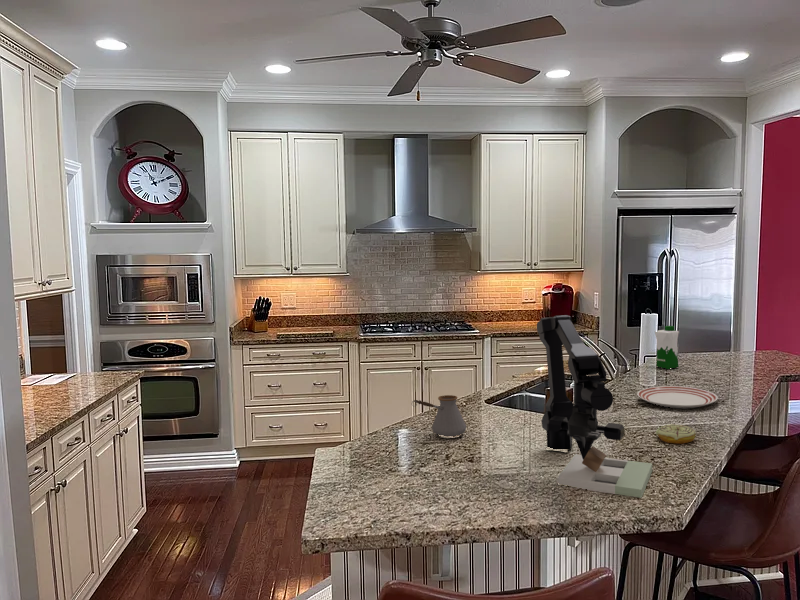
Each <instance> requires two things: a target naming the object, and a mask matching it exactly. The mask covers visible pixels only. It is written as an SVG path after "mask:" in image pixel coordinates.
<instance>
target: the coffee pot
mask: <svg viewBox="0 0 800 600" xmlns="http://www.w3.org/2000/svg"><path fill="white" fill-rule="evenodd" d="M437 399H438V400H439V403H440V404H439V405H435V404H432V403H429V402H427V401H421V400H420V399H419V400H417V399H414V400H413V401H412V402H411V406H412V407H414V405H413V403H414V402H415V403H416V404H415V406H418V405H422V406H425V407H429V408H434V409H437V412H436V413H435V414H436V415H435V417H434V420H433V423H432V425H431V430H432V432H433V433H434V434H435V433H436V434H439V435H444V436H456V435H460V434H462V435H463V434H464V433H465V432H466V429H467V424H466V421H465V420H464V417H463V416H462V414H461V413H462V412H461V411H460V410H459V407H458V405H457V400H458V396H457V395H453V394H451V395H450V394H447V395H440V396H438V397H437ZM436 434H435V435H436Z"/></svg>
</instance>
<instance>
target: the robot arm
mask: <svg viewBox="0 0 800 600" xmlns="http://www.w3.org/2000/svg"><path fill="white" fill-rule="evenodd" d="M536 331H537V333H538V337H539V340H540V342H541V343H542V344H543V346H544V347H545V351H546V352H545V354H546V363H547V375H548V376H547V377H548V384H549V385H548V387H549V395H550V396H549V397H548V400H547V402H546V403H545V411H544V414H543V416H542V419H541V427H542V429H543V430H545V431H546V448H547V447H550V448H553V449H570V450H571V449H572V448H573V440H574V441H575V442H576V445H577V448H578V449H579V453H580V455H582V458H583V460H584V458H585V456H586V455H587V453H588V451H589V450H590V449H591V448H592V446H593V444H594V443H595V441H597V440H598V439H599V438H600V437H601V435H602V434H603V436H604V437H605V438H606V439H607V440H613V441H621V440H622V438H624V436H625V432H626V431H625V426H624V425H623V424H622V423H621V424H620V423H616V422H615V423H614V422H608V423H607V424H606V425H600V424H599V422H598V418H597V416H598V414H597V411H601V412H602V411H607V410H609V409H610V407H611V406H612V405H613V403H614V396H613V394H612V393H613V392H611V390H610V389H608V388H607V387H606V383H605V382H607V381H608V379H607V372H606V369H605V367H604V364H603V362H602V360H601V357H599V355H598V354H597V352H596V351H595V350H594V349H593V348H591V347H589V346H587V345H585V343H584V341H583V340H582V338H581V336H580V334H579V332H578V330H577V329H576V327H575V325H574V324H573V318H572V316H570V315H568V314H564V315H554V316H550V317H541V318H540V320H539V321H537V323H536ZM563 347H564V348H565V350H566V352H567V354H568V359H567V366H568V370H569V372H570V375H571V377H572V381H573V401H572V400H570V399H569V397H568V396H567V387H566V385H567V384H566V376H565V366H564V365H565V364H564V355H563V353H564V352H563Z"/></svg>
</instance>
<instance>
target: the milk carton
mask: <svg viewBox="0 0 800 600" xmlns="http://www.w3.org/2000/svg"><path fill="white" fill-rule="evenodd" d="M656 331H657V332H656ZM679 333H680V330H676V329H675V325H665V326H664V329H660V330H658V329H657V330H655V331H654V335H655V339H656V364H655V365H656V366H658V367H662V368H666V369H670V368H676V367H679V354H678V353H679V352H678V351H679V348H678V347H679V346H678V344H679V343H678V340H679V335H680V334H679ZM666 369H665V370H666ZM676 369H677V368H676ZM670 370H671V369H670Z"/></svg>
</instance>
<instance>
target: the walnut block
mask: <svg viewBox="0 0 800 600" xmlns="http://www.w3.org/2000/svg"><path fill="white" fill-rule="evenodd" d="M605 458H607V454H606V453H605V452H603V451H601V450H600V449H598V448H596V447H595V446H593V445H592V446H591V449H590V450H589V451H588V453H587V455H586V456H585V458H584V460H583V462H582V464H584V465H585V466H587V467H588V468H590V469H591V470H593V471H595V472H596V471H597V470H598V469H599V467H600V466H601V464H602V462H603V461H604V459H605Z"/></svg>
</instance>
